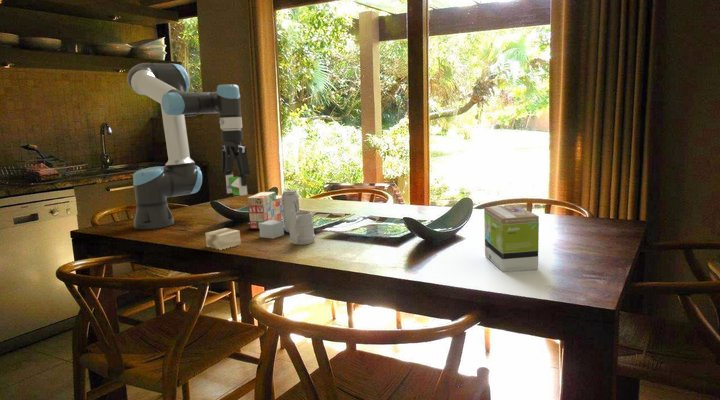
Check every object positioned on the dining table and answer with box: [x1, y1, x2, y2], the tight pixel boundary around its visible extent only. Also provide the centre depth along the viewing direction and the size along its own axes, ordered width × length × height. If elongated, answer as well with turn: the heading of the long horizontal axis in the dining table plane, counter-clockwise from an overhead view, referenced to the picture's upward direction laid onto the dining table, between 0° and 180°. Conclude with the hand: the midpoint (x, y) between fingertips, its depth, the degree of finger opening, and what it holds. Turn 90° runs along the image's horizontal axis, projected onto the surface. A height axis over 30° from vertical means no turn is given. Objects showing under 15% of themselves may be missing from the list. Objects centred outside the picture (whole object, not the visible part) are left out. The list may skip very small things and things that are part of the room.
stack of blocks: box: [247, 191, 284, 230], centre depth 206 cm, size 21×6×12 cm, turn 165°
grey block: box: [259, 220, 285, 239], centre depth 184 cm, size 6×6×5 cm
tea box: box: [483, 204, 540, 273], centre depth 140 cm, size 15×10×15 cm, turn 5°
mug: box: [288, 210, 316, 246], centre depth 171 cm, size 8×12×12 cm, turn 156°
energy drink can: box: [281, 189, 301, 233], centre depth 189 cm, size 6×6×15 cm
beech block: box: [204, 227, 242, 251], centre depth 173 cm, size 8×8×5 cm
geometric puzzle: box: [225, 175, 240, 196], centre depth 184 cm, size 7×7×8 cm
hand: (237, 193), depth 185 cm, fingers closed on geometric puzzle, 8 cm apart
